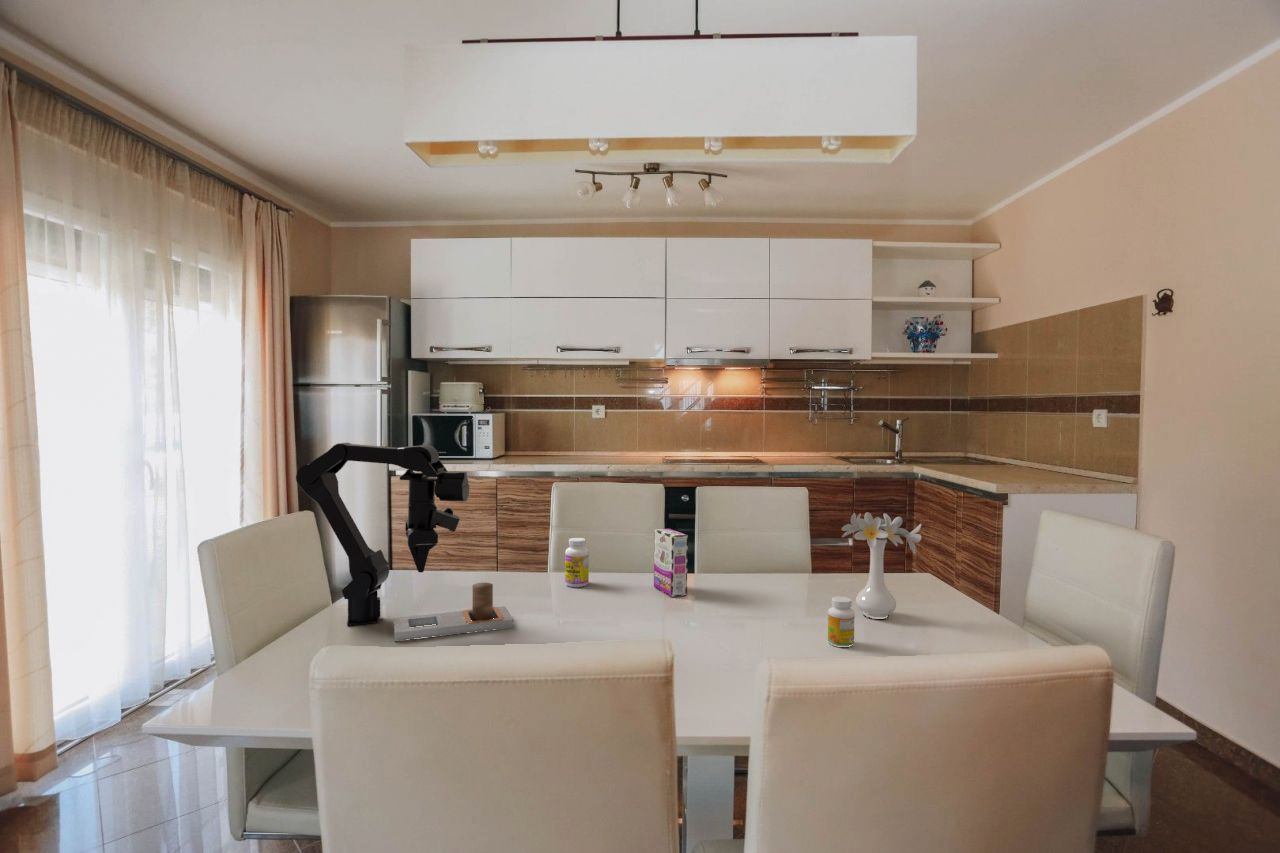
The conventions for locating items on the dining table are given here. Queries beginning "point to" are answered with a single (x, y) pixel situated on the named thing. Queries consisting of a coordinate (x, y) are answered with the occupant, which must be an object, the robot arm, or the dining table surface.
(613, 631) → the dining table surface
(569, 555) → the supplement bottle
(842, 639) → the supplement bottle
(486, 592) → the walnut peg
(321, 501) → the robot arm
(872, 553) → the flower vase
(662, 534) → the candy bar box
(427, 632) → the gray peg socket board
